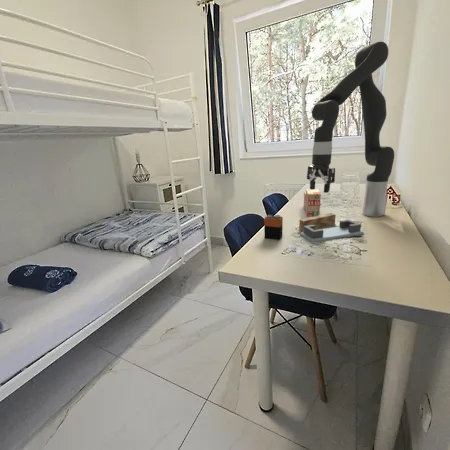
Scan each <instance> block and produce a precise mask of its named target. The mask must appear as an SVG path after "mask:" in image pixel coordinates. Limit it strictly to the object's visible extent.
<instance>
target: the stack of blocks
mask: <svg viewBox="0 0 450 450" xmlns="http://www.w3.org/2000/svg"><path fill="white" fill-rule="evenodd" d="M321 196H322V194H321V192H320V190H319V189H318V188H315V189H313V190H311V189H310V188H309V189H308V188H307V189H305V190H304V191H303V208H304V211H305V215H306V218H309V217H314V216H319V215H321V214H320V212H321V211H320V210H321V198H322V197H321Z"/></svg>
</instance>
